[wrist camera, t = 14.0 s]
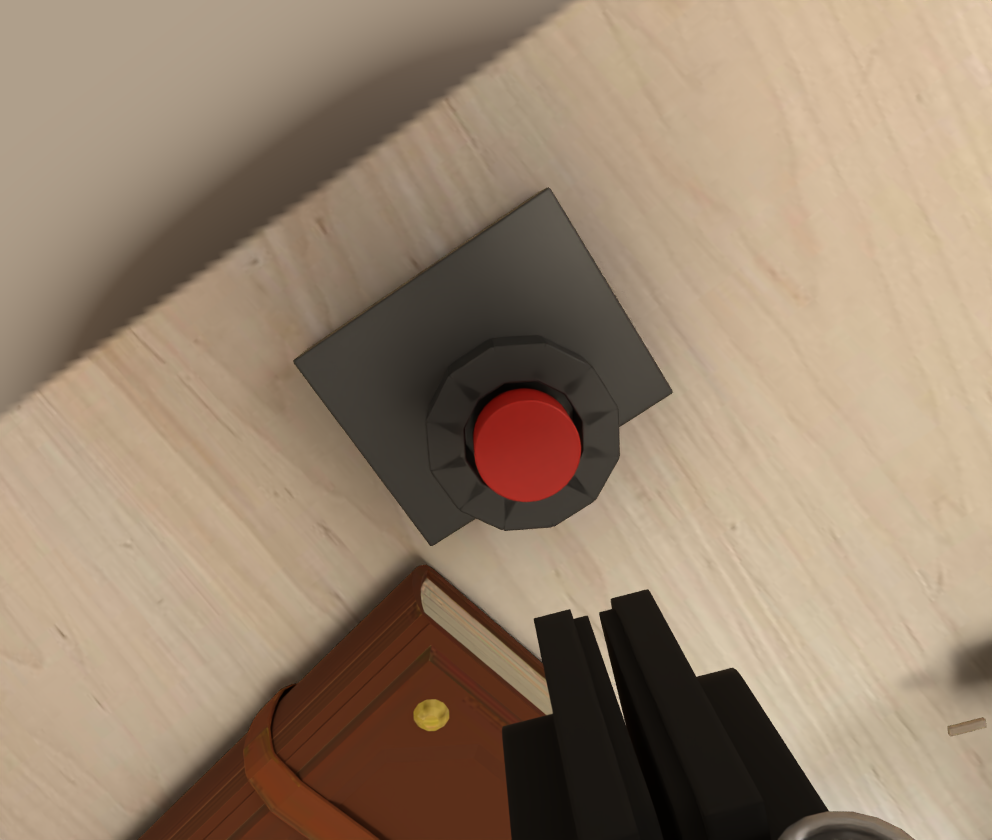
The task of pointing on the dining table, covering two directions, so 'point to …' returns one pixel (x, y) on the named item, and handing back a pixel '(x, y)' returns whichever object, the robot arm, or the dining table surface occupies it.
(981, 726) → the rack base
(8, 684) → the dining table surface
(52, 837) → the dining table surface
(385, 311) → the button box
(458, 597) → the book
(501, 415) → the button
